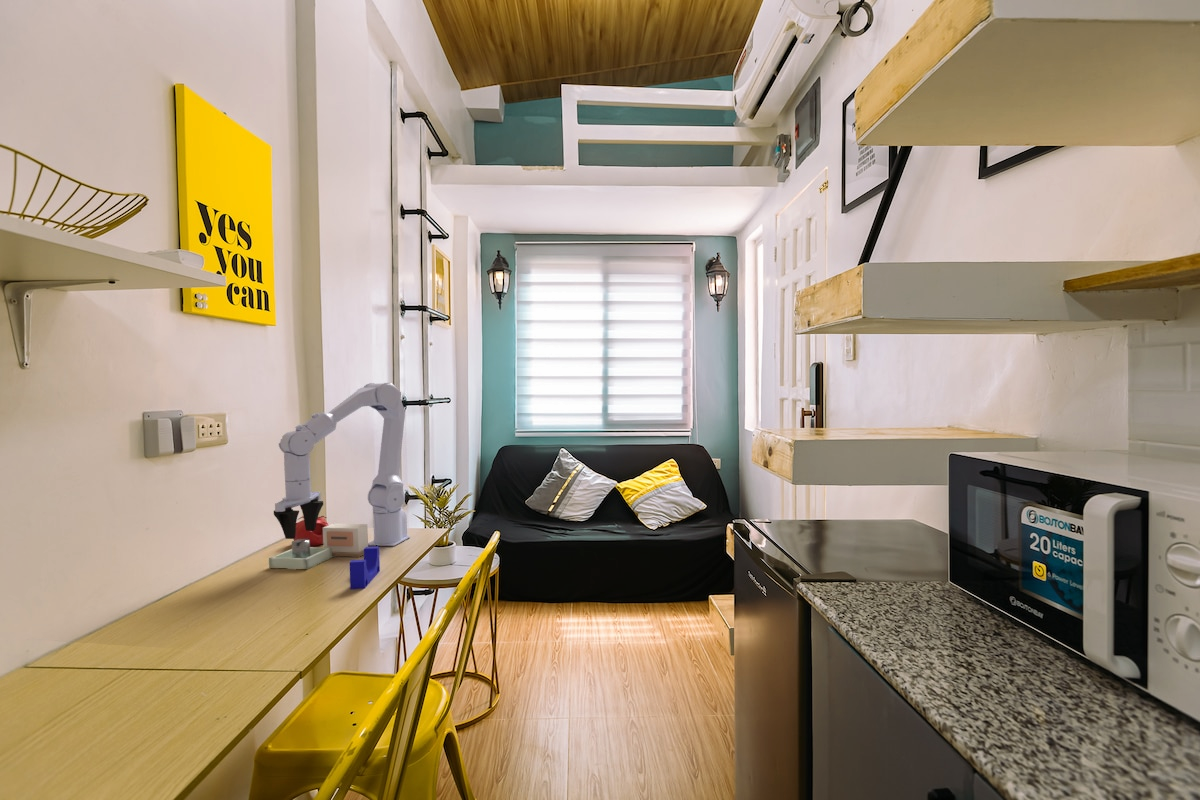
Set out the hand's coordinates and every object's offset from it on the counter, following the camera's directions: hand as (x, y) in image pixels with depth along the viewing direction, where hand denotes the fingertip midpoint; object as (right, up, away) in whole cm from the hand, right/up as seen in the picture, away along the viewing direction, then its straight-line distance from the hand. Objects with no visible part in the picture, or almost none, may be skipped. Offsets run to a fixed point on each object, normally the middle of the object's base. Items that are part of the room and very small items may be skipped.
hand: (300, 534), depth 151 cm
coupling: (0, -7, 0) cm, 7 cm away
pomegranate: (-6, -7, +19) cm, 21 cm away
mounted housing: (+8, -7, +8) cm, 13 cm away
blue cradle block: (+21, -8, -14) cm, 26 cm away
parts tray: (0, -7, 0) cm, 7 cm away
